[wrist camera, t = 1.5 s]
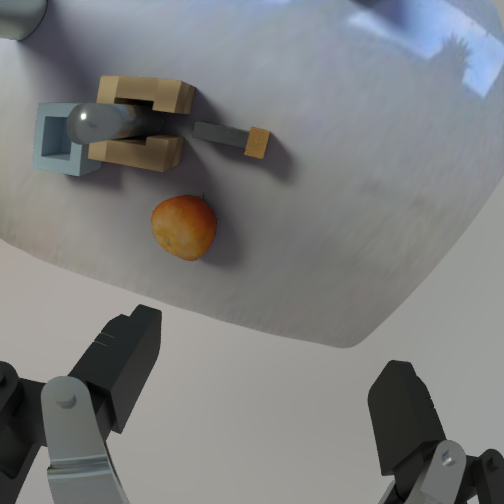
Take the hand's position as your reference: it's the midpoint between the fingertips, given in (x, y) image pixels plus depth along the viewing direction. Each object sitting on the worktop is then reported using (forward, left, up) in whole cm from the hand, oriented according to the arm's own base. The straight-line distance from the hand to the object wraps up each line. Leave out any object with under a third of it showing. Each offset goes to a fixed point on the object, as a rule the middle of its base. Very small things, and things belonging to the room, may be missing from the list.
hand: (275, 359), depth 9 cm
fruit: (+7, -9, -29) cm, 31 cm away
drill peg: (-5, -17, -29) cm, 34 cm away
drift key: (-5, -6, -29) cm, 30 cm away
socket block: (-5, -17, -29) cm, 34 cm away
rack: (-2, -28, -29) cm, 40 cm away
